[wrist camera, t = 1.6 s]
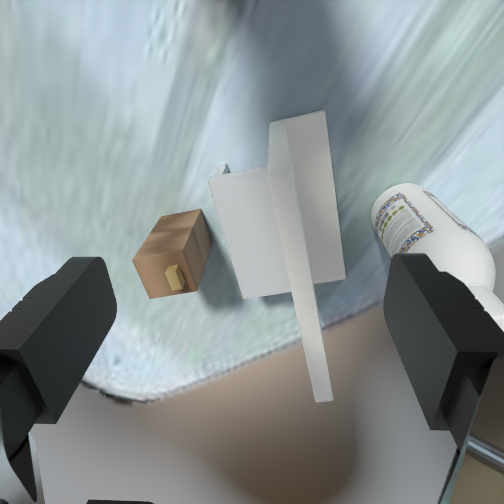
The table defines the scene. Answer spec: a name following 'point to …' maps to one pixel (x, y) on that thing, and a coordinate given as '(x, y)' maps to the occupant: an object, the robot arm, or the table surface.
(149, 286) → the brown tall block
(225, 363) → the table surface
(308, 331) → the wall shelf
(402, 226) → the bath foam
